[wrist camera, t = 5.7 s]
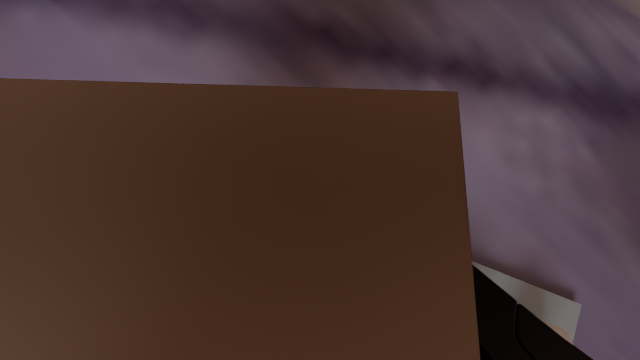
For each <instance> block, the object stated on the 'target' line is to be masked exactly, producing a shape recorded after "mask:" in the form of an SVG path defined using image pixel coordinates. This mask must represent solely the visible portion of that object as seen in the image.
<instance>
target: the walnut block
mask: <svg viewBox="0 0 640 360" xmlns="http://www.w3.org/2000/svg"><path fill="white" fill-rule="evenodd" d="M0 360H480V350H479V338H478V327H477V315H476V303H475V291H474V279H473V267H472V255H471V244H470V232H469V220H468V208H467V196H466V184H465V172H464V161H463V149H462V137H461V125H460V113H459V101H458V92H450V91H416V90H382V89H348V88H314V87H280V86H245V85H211V84H177V83H143V82H109V81H75V80H40V79H6V78H0Z"/></svg>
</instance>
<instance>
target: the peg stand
mask: <svg viewBox="0 0 640 360" xmlns="http://www.w3.org/2000/svg"><path fill="white" fill-rule="evenodd" d="M472 264H473V265H474V266H475V267H476V268H478V269H479V270H480V271H481V272H483V273H484V274H485V275H486V276H487V277H489V278H490V279H491V280H492V281H493V282H495V283H496V284H497V285H498V286H500V287H501V288H502V289H503V290H504V291H506V292H507V293H508V294H509V295H511V296H512V297H513V298H514V299H515V300H517V304H522V305H523V306H524V307H525V308H527V309H528V310H529V311H530V312H531V313H533V314H534V315H535V316H536V317H538V318H539V319H540V320H541V321H543V322H544V323H545V324H546V325H548V326H549V327H550V328H552V329H553V330H554V331H555V332H557V333H558V334H559V335H560V336H562V337H563V338H564V339H566V340H567V341H568V342H570V343H571V344H572V345H573V340H574V336H575V332H576V327H577V323H578V319H579V314H580V310H581V305H582V304H579V303H577V302H574V301H571V300H569V299H566V298H564V297H561V296H559V295H556V294H554V293H551V292H549V291H546V290H544V289H541V288H539V287H536V286H534V285H531V284H529V283H526V282H524V281H521V280H518V279H516V278H513V277H511V276H508V275H506V274H503V273H501V272H498V271H496V270H493V269H491V268H488V267H486V266H483V265H481V264H478V263H476V262H473V261H472Z"/></svg>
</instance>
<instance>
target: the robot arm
mask: <svg viewBox="0 0 640 360" xmlns="http://www.w3.org/2000/svg"><path fill="white" fill-rule="evenodd" d="M472 267H473V279H474V291H475V303H476V315H477V327H478V338H479V350H480V360H593V359H592V358H590V357H589V356H587V355H586V354H585V353H583V352H582V351H581V350H579V349H578V348H577V347H575V346H574V345H572V344H571V343H570V342H568V341H567V340H566V339H564V338H563V337H562V336H560V335H559V334H558V333H557V332H555V331H554V330H553V329H552V328H550V327H549V326H548V325H546V324H545V323H544V322H543V321H541V320H540V319H539V318H538V317H536V316H535V315H534V314H533V313H531V312H530V311H529V310H528V309H527V308H525V307H524V306H523V305H522V304H517V300H515V299H514V298H513V297H512V296H511V295H509V294H508V293H507V292H506V291H504V290H503V289H502V288H501V287H500V286H498V285H497V284H496V283H495V282H493V281H492V280H491V279H490V278H489V277H487V276H486V275H485V274H484V273H483V272H481V271H480V270H479V269H478V268H476V267H475V266H474V265H473V264H472Z"/></svg>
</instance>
